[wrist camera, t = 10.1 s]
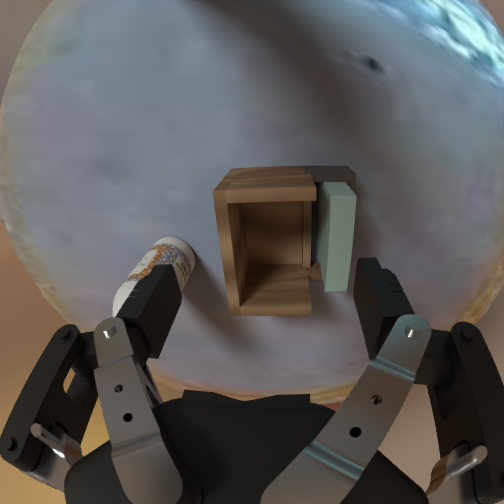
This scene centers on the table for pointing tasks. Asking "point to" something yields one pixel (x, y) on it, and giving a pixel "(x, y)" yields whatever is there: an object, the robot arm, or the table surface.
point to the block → (335, 233)
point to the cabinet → (270, 236)
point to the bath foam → (160, 253)
